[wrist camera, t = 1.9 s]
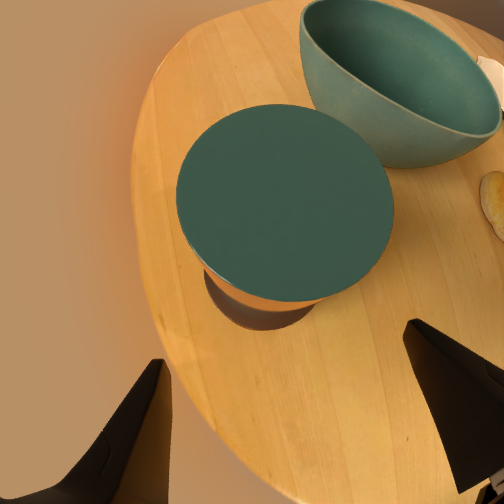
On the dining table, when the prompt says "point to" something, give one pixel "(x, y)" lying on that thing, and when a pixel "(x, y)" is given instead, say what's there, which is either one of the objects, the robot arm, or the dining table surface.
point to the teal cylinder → (283, 208)
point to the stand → (247, 321)
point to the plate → (494, 77)
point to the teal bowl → (396, 82)
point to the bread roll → (494, 201)
